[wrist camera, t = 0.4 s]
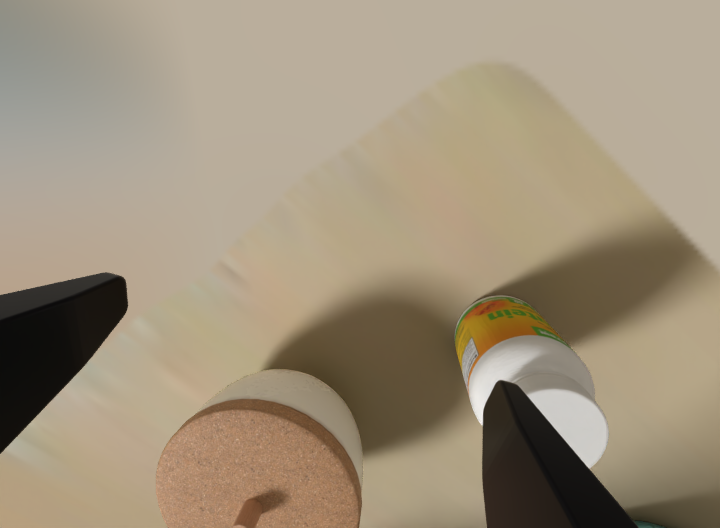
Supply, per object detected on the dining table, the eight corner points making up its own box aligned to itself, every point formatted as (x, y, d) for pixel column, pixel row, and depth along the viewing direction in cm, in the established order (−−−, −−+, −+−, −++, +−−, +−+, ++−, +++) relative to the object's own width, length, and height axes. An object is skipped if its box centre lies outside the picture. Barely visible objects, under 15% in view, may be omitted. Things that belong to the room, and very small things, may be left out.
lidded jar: (217, 336, 27) (120, 420, 18) (376, 348, 26) (359, 444, 16) (225, 472, 29) (143, 607, 20) (370, 488, 28) (353, 639, 19)
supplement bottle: (552, 299, 24) (649, 383, 14) (533, 381, 25) (610, 507, 15) (461, 287, 24) (495, 360, 15) (446, 367, 25) (470, 482, 16)
